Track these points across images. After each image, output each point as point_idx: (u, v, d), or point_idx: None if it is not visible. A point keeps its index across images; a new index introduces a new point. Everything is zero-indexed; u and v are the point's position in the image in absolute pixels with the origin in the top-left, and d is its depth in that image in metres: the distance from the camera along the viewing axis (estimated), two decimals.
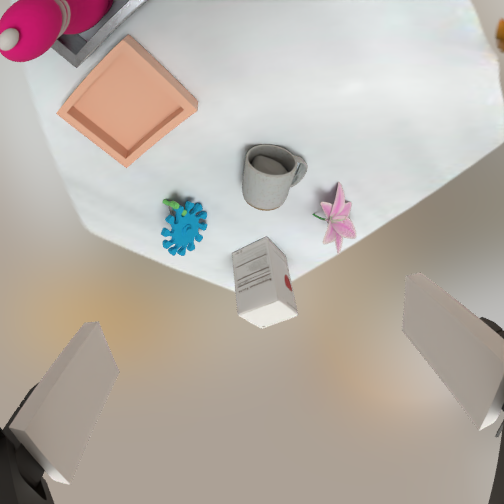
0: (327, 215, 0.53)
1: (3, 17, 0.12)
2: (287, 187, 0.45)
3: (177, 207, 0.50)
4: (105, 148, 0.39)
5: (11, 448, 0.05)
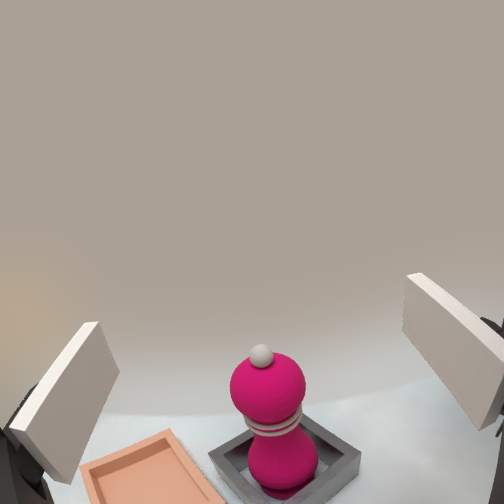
0: None
1: (289, 358, 0.24)
2: None
3: None
4: (109, 457, 0.30)
5: (11, 448, 0.05)
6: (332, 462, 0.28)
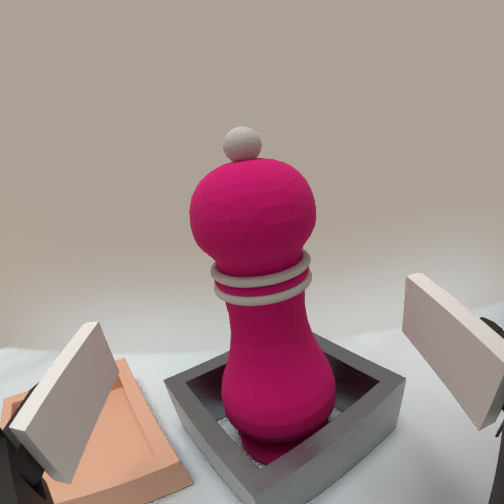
0: None
1: None
2: None
3: None
4: None
5: (11, 448, 0.05)
6: None
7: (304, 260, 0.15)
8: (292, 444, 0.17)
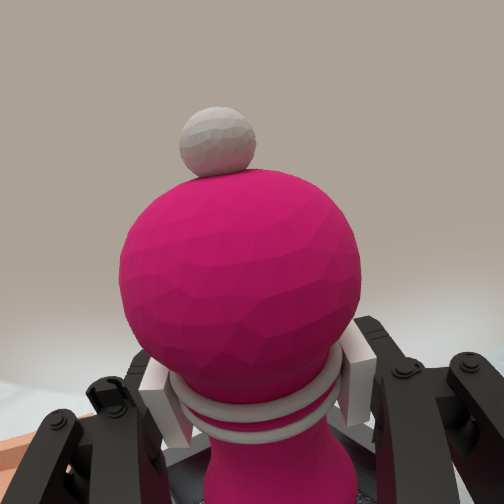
0: None
1: None
2: None
3: None
4: (1, 445, 0.14)
5: (140, 420, 0.07)
6: None
7: (334, 361, 0.08)
8: None
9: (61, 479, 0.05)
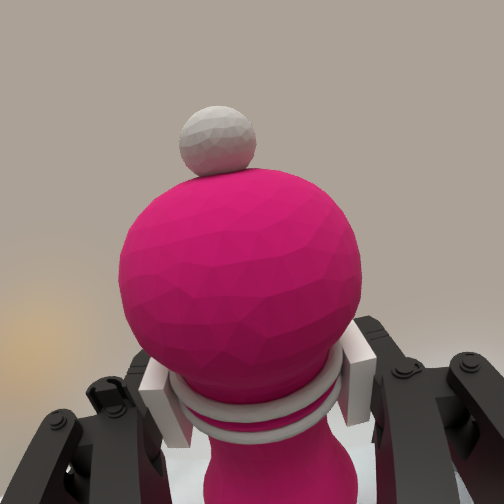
0: None
1: None
2: None
3: None
4: None
5: (140, 420, 0.07)
6: None
7: (334, 361, 0.08)
8: None
9: (60, 479, 0.05)
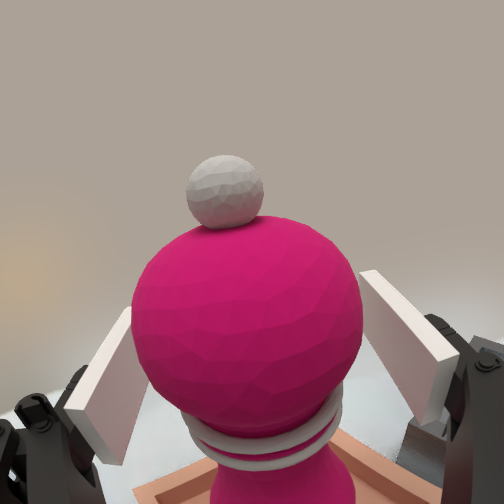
0: None
1: None
2: None
3: None
4: (196, 468, 0.17)
5: (65, 433, 0.06)
6: None
7: (335, 396, 0.08)
8: None
9: (5, 481, 0.04)
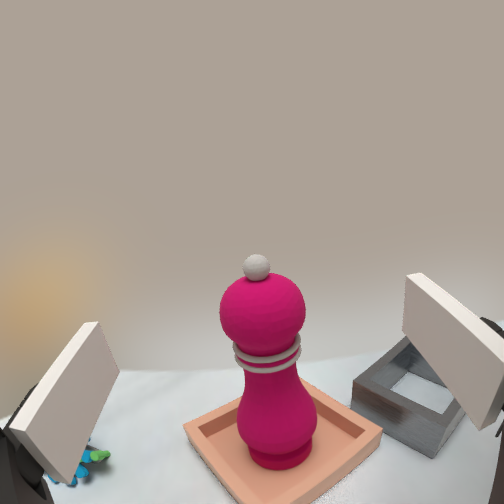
0: None
1: (288, 279, 0.22)
2: None
3: (92, 455, 0.23)
4: (223, 409, 0.30)
5: (11, 448, 0.05)
6: None
7: (296, 343, 0.21)
8: (285, 455, 0.23)
9: None
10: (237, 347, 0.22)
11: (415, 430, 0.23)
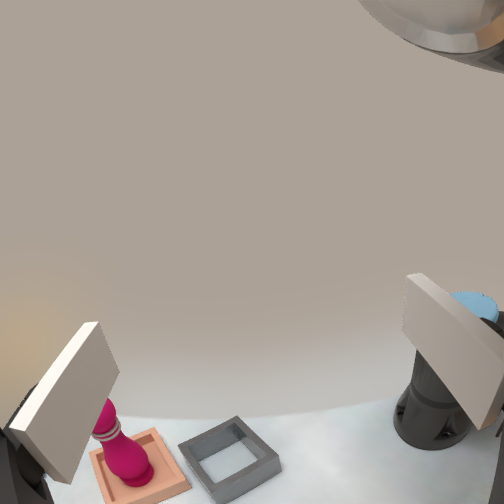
0: None
1: None
2: None
3: None
4: None
5: (11, 448, 0.05)
6: None
7: (112, 429, 0.34)
8: (131, 479, 0.37)
9: None
10: None
11: (205, 486, 0.36)
